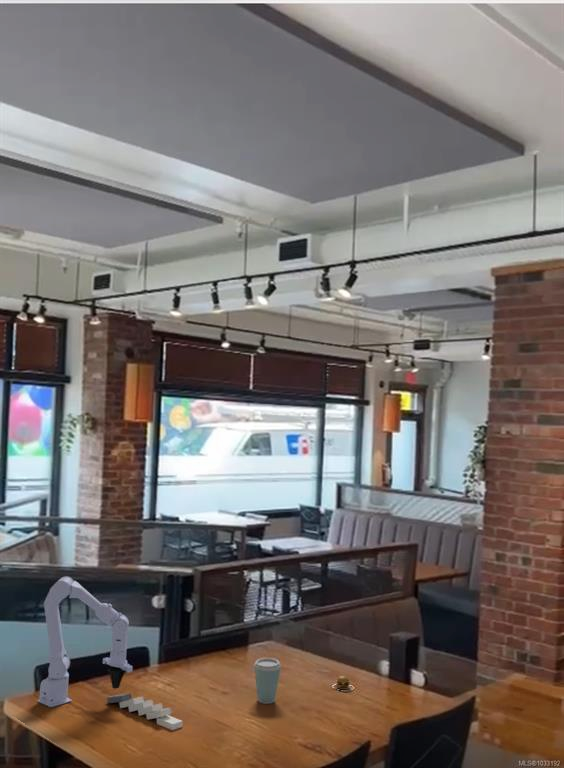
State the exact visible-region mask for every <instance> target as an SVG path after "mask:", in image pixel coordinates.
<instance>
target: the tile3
mask: <svg viewBox="0 0 564 768" xmlns="http://www.w3.org/2000/svg"><path fill="white" fill-rule="evenodd" d="M152 705H154V702H153V699H149V700H148V699H147V700H144V702H142V703H138V704H135V705H131V706H128V707H127V708H128V713H131V712H135V711H138V710H139V709H143V708H146V707H149V706H152Z"/></svg>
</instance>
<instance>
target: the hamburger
mask: <svg viewBox="0 0 564 768" xmlns="http://www.w3.org/2000/svg"><path fill="white" fill-rule="evenodd" d="M336 679H337V680H335V681H336V683H334V684H333V685H332V686H331V687H332V689H334V690H336V689H337V690H336V691H339V690H340V689H347V692H350V690H351V691H353V690H354V689H355V687H354V685H351V684H350V683H351V682H350V679H349V677H347V676H346V675H340V676H338V677H337V678H336ZM336 684H337V686H336V688H335V687H333V686H334V685H336ZM349 686H352V687H353V689H352V688H351V689H349V688H350V687H349ZM338 688H339V689H338ZM341 692H345V690H341Z"/></svg>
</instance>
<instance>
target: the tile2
mask: <svg viewBox="0 0 564 768" xmlns="http://www.w3.org/2000/svg"><path fill="white" fill-rule="evenodd" d="M142 702H145V700H144V695H142V696H138V697H134V698H132V699H130V700H127V701H123V702H118V704H119V709H123V708H128V706H132V705H135V704H138V703H142Z"/></svg>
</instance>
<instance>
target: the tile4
mask: <svg viewBox="0 0 564 768" xmlns="http://www.w3.org/2000/svg"><path fill="white" fill-rule="evenodd" d="M162 709H164V708H163V703H162V702H160V703H157V704H153V705H152V706H149V707H146V708H143V709H139V710H137V712H138V713H137V714H138V716H143V715H146V714H147V713H150V712H154V711H157V710H162Z"/></svg>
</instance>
